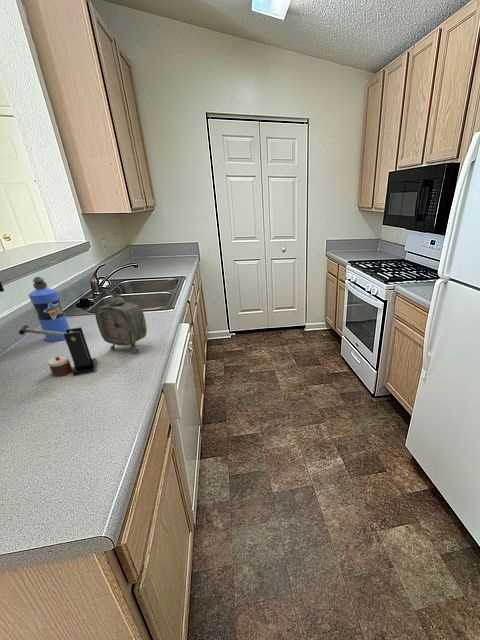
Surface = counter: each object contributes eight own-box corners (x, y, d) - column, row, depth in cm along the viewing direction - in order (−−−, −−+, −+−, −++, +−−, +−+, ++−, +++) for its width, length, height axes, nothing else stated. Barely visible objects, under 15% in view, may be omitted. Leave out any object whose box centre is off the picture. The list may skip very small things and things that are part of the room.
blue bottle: (76, 334, 141) (56, 276, 130) (53, 342, 134) (30, 281, 123) (63, 331, 145) (43, 274, 134) (40, 338, 138) (17, 278, 127)
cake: (51, 377, 108) (45, 362, 105) (54, 370, 113) (48, 355, 110) (71, 374, 110) (65, 358, 108) (73, 367, 115) (68, 352, 112)
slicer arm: (18, 335, 100) (18, 328, 99) (22, 330, 104) (23, 323, 103) (78, 342, 108) (79, 335, 107) (80, 337, 112) (80, 330, 111)
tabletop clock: (105, 351, 126) (85, 286, 115) (122, 342, 134) (105, 280, 123) (137, 355, 122) (120, 288, 111) (153, 345, 130) (138, 282, 119)
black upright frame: (73, 375, 109) (59, 336, 103) (77, 364, 116) (64, 327, 110) (94, 371, 111) (81, 333, 105) (96, 361, 119) (84, 324, 112)
